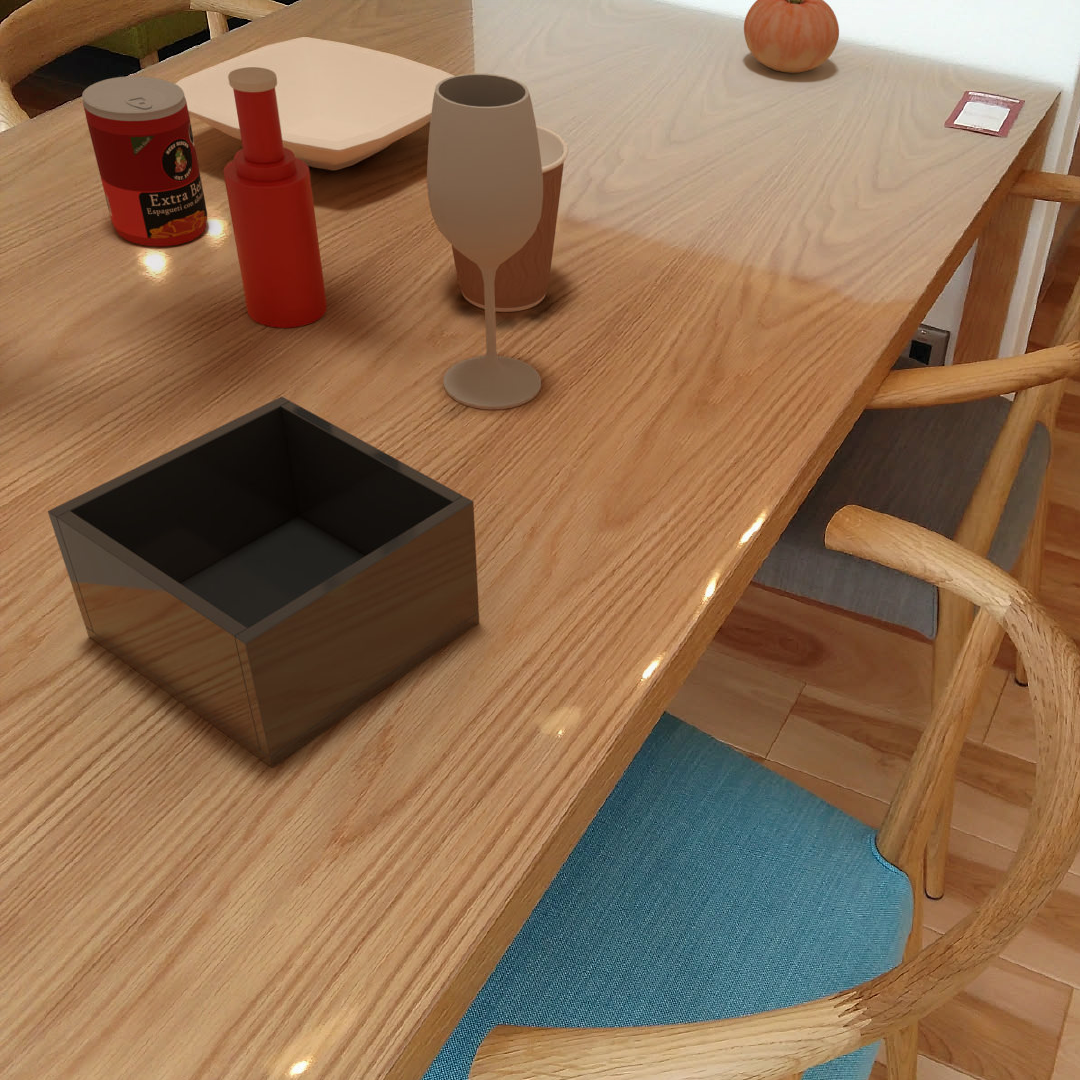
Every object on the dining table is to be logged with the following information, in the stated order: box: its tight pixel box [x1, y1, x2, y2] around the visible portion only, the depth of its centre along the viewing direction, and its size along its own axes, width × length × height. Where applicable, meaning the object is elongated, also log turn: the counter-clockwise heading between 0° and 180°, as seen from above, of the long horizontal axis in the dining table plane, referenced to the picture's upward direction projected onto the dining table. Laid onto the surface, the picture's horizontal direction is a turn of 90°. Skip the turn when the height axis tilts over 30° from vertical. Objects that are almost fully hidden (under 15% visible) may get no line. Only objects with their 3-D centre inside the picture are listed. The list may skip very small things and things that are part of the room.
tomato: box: [743, 0, 840, 74], centre depth 148 cm, size 11×11×8 cm
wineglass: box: [426, 73, 543, 411], centre depth 90 cm, size 8×8×21 cm
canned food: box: [81, 75, 208, 248], centre depth 107 cm, size 8×8×11 cm
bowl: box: [174, 36, 455, 172], centre depth 123 cm, size 22×23×6 cm
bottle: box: [222, 67, 328, 329], centre depth 96 cm, size 6×6×18 cm
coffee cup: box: [451, 124, 569, 313], centre depth 103 cm, size 10×10×12 cm
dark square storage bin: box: [47, 396, 480, 768], centre depth 73 cm, size 16×16×9 cm
